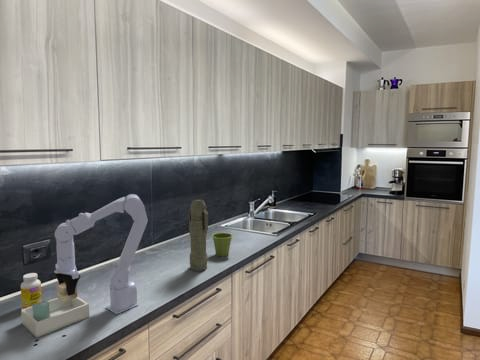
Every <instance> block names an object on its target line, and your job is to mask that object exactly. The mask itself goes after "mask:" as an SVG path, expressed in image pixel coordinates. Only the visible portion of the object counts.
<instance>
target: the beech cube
mask: <svg viewBox="0 0 480 360" xmlns="http://www.w3.org/2000/svg"><path fill="white" fill-rule="evenodd" d="M77 285H78V284H77ZM77 285H76V290H75V294H73V295H70V296H69V295H68V294H67V289H66V285H65V283H61V284H59V283H58V284H56V286H55V287H56V295H57V296H56V298H58V299H60V300H61V301H62V302H65V301H68V300H71V299H74V298H76V297H78V286H77Z"/></svg>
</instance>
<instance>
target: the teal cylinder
mask: <svg viewBox="0 0 480 360" xmlns="http://www.w3.org/2000/svg"><path fill="white" fill-rule="evenodd" d="M48 301H49V300H44V301H43V300H42V301H41V302H38V303H35V304H34V305H33V306H32V309H33V318H34V319H35V320H36V321H37V322H38V321H41V320H44V319H46V318H49V317H50V310H49V302H48Z"/></svg>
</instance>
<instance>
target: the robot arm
mask: <svg viewBox="0 0 480 360" xmlns="http://www.w3.org/2000/svg"><path fill="white" fill-rule="evenodd" d="M125 212H126V213H127V214H128V215H130V217H131V218H132V220H133V222H132V226H131V229H130V231H129V233H128V237H127V239H126V241H125V244H124V246H123V250H122V251H121V254H120V256H119V258H118V260H117V262H116V264H115V266H113V267H112V269H111V270H110V284H109V298H110V299H109V300H110V302H109V303H110V304H109V305H106V306H105V308H106V309H107V310H109V311H111V312H112V313H114V314H116V315H118V314H121V313H123V312H125V311H127V310H130V309H133V308H135V307H138V306H139V303H138V292H137V291H138V289H137V285H136V284H135V282H134V281H131V280H130V281H129V273H130V272H131V271H130V270H131V266H132V262H133V260H134V258H135V255H136V253H137V250H138V248H139V245H140V243H141V240H142V237H143V234H145V233H144V232H145V230H146V227H147V225H148V221H149V219H148V215H147V212H146V208H145V205H144V203H143V201H142V200H141V198H140V196H138V195H137V194H135V193H130V194H128V195H126V196H123V197H120V198H118V199H116V200H114V201H112V202H110V203H108V204H106V205H104V206H103V207H101V208H99V209H97V210H95V211H93V212H91V213H90V212H84V213H83V212H80V213H79V214H78V216H76V217H74V218H72V219H67V220H65V222H62V223H60V224H58V226H57V228H56V229H55V230H54V238H55V239H56V240H55V241H56V248H55V249H56V260H57V261H56V263H55V266H54V267H55V270H54V273H53V275H54V277H55V278H56V281H57V282H58V284H61V283H65V285H66V289H67V294H68V295H69V296H70V295H73V294H75V290H76V285H78V282H79V280H80V278H81V275H80V274H79V271H78V269H77V266H76V257H75V256H76V254H75V253H76V251H75V242H74V236H75V235H79V234H81V233H83V232H85V231H87V230H89V229H91V228H93V227H94V226H95V223H96V222H97V221H99V220H101V219H103V218H105V217H108V216H110V215H112V214H114V213H121V214H124V213H125Z"/></svg>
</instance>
